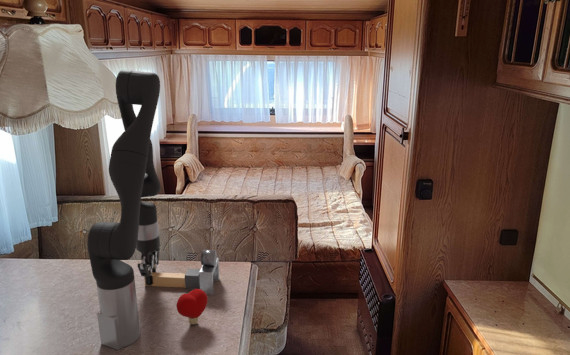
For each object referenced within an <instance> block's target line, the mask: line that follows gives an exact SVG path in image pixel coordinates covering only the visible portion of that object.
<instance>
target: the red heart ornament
mask: <svg viewBox="0 0 570 355" xmlns="http://www.w3.org/2000/svg"><path fill="white" fill-rule="evenodd" d="M208 300H209V297H208V295H207V294H206V293H205V292H204V291H203V290H201V289H191V291H189V292H188V293H183V294H181V295H180V296H179V297H178V299H177V302H176V305H175V306H176V307H175V308H176V311H177V312H178V313H179V314H180V315H181V316H183V317H186V318H187V319H188V324H190V325H192V326H193V325H196V324H197V323H198V322H199V317H201V315H202V314H203V313H204V311H205V310H206V308H207V306H208Z"/></svg>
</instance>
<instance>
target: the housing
mask: <svg viewBox="0 0 570 355" xmlns="http://www.w3.org/2000/svg"><path fill="white" fill-rule="evenodd" d="M200 255H201V256H200V264H201V268H200V269H201V270H200V271H199V277H200V289H201V290H203V291H204V292H205V293H206V294H207V296H209V295H210V296H211V295H214V281H215V282H218V281H220V259H219V257H218V255H217V250H216V249H202V251H201V254H200Z"/></svg>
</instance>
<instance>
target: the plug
mask: <svg viewBox="0 0 570 355" xmlns="http://www.w3.org/2000/svg"><path fill="white" fill-rule="evenodd" d="M200 270H201V268H188V269H187V271H186V273H181V272H179V273H177V272H157V271H156V272H152V278H153V284H152V285H146V282H145V276H143V278H144V286H145V287H146V286H147V287H165V288H167V287H168V288H169V287H170V288H184V290H185V289H186V290H194V289H200V277H199V271H200Z"/></svg>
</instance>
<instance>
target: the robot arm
mask: <svg viewBox="0 0 570 355" xmlns="http://www.w3.org/2000/svg"><path fill="white" fill-rule="evenodd" d="M117 73H118V74H117V76H116V78H115V94H116V99H117V104H118V109H119V113H120V117H121V121H122V125H123V128H124V131H123V132H122V133H121V134H120V136H118V138H117V139H116V140H115V142H114V144H113V146H112V147H111V153H110V158H109V162H108V174H109V178H110V180H111V183H112V185H113V187H114V189H115V191H116V193H117V196H118V199H119V203H120V220H119V222H113V221H111V222H108V221H98V222H95V223H94V224H92V225H91V227H90V229H89V231H88V233H87V240H86V241H87V252H88V257H89V262H90V266H91V273H92V275H93V276H92V277H93V278H94V280H95V281H96V282H95V283H96V287H97V288H96V291H97V297H98V305H99V311H97V313H96V316H97V322H98V329H99V330H98V332H99V339H100V344H101V345H103V346H107V347H108V348H109V347H110V348H112V349H114V350H117V351H119V350H120V349H122V348H125V347H129V346H130V345H132V344H134V343H136V342H137V340H138V339H139V338H140V336H141V330H140V329H141V328H140V320H139V319H140V318H139V310H138V309H139V308H138V300H137V289H136V280H135V273H134V272H135V270H134V268H133V267H132V266H131V264H129V263H126V262H125V261H128V260H130V259H131V258H132V257H133V256H134V254H135V252H136V250H137V251H138V252H139V253H141V254H140V261H141V262H140V263H139V262H138V263H137V269H138V271H139V274H140V275H141V277H144V276H145V280H144V283H145V282H146V285H152V284H153V278H152V272H157V268H158V265H159V264H160V249H161V248H160V247H161V239H160V227H159V221H158V214H157V213H158V211H157V206H156V204H155V203H154V202H150V201H149V202H148V201H143V200H142V198H148V197H149V198H150V197H156V196H157V195H159V193H160V191H161V189H162V185H161V181H160V179H159V177H158V174H157V171H156V169H155V163H154V148H153V143H152V139H151V134H152V129H153V124H154V120H155V116H156V112H157V107H158V102H159V98H160V92H161V81H160V80H161V79H160V76H159V75H158V74H157V73H156V72H151V71H145V70H133V69H132V70H131V69H122V70H120V71H119V72H117ZM134 105H136V106H138V105H139V106H140V109H139V111H138V114H137V115H136V113H135V111H134Z"/></svg>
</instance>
